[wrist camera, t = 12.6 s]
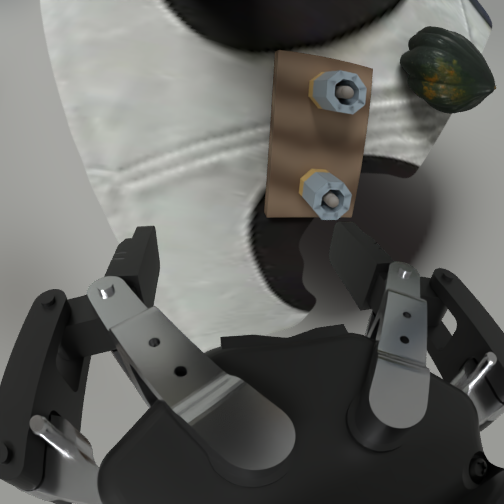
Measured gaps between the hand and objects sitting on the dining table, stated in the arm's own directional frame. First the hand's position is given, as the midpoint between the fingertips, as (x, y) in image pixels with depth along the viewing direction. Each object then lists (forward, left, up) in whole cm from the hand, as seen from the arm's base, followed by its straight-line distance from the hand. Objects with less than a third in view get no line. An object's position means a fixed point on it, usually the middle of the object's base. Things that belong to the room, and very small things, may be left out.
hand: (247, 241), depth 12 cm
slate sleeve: (+6, +14, -26) cm, 30 cm away
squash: (-17, +33, -28) cm, 47 cm away
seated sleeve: (-8, +14, -26) cm, 31 cm away
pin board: (-1, +14, -28) cm, 31 cm away
